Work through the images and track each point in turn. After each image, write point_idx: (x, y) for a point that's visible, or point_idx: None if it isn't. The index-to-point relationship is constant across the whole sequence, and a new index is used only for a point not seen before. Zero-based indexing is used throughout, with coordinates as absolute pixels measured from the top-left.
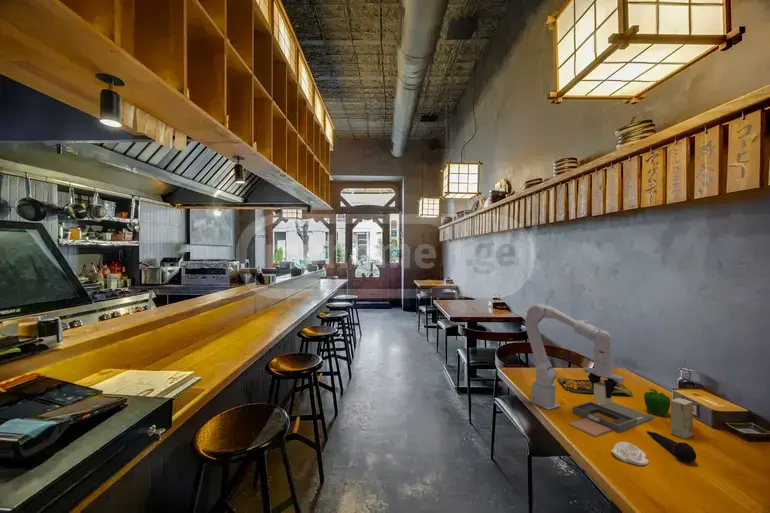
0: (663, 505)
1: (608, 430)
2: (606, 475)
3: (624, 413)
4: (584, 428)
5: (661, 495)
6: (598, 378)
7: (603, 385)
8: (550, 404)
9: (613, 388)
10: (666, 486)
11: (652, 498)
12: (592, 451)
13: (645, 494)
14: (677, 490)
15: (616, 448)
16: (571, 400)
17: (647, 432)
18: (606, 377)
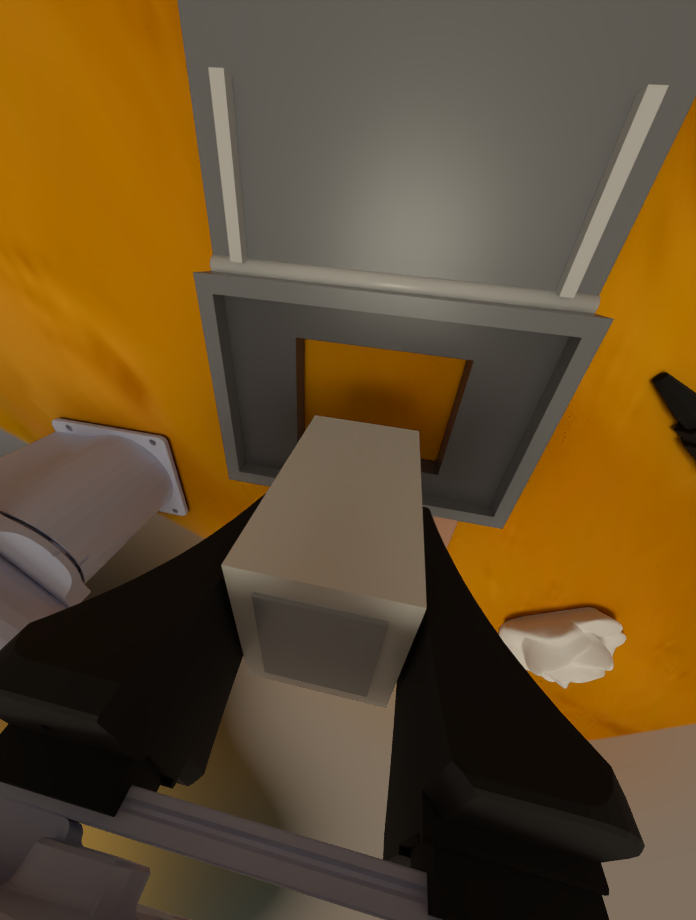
0: (639, 731)
1: (452, 532)
2: None
3: (461, 141)
4: None
5: (640, 714)
6: (188, 678)
7: (359, 690)
8: (163, 503)
9: (473, 617)
10: (662, 691)
11: (616, 724)
12: None
13: (601, 720)
14: (692, 694)
15: (516, 635)
16: (89, 270)
17: (656, 384)
18: (368, 905)
